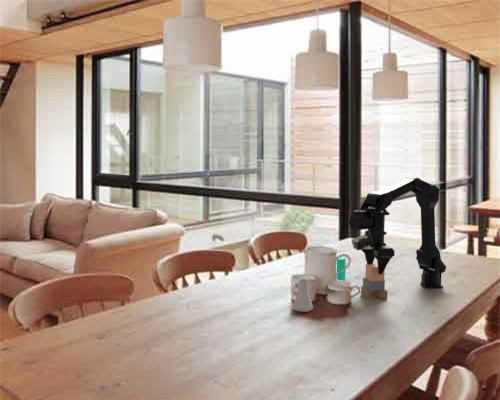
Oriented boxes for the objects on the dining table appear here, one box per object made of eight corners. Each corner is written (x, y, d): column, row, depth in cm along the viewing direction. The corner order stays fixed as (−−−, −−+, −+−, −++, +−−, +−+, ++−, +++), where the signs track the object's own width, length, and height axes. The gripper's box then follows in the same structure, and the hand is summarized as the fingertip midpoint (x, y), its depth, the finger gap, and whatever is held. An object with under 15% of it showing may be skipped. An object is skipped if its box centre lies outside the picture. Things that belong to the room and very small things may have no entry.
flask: (288, 310, 180) (288, 280, 179) (296, 304, 186) (297, 276, 185) (308, 313, 177) (309, 283, 176) (316, 307, 183) (317, 278, 182)
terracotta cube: (378, 277, 198) (378, 263, 197) (384, 280, 193) (384, 266, 192) (365, 277, 197) (365, 264, 196) (371, 281, 192) (371, 267, 191)
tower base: (379, 294, 200) (379, 285, 200) (387, 300, 193) (387, 290, 193) (360, 295, 199) (361, 286, 198) (368, 301, 192) (368, 291, 192)
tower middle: (375, 285, 199) (375, 276, 199) (384, 289, 194) (384, 280, 194) (362, 287, 197) (363, 277, 197) (371, 291, 192) (371, 281, 192)
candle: (346, 286, 210) (347, 255, 208) (330, 286, 210) (331, 255, 208) (343, 282, 216) (344, 252, 214) (328, 282, 216) (329, 252, 214)
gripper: (345, 224, 200) (344, 266, 202) (364, 233, 182) (363, 278, 184) (373, 223, 202) (372, 264, 204) (396, 232, 184) (394, 277, 186)
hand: (374, 271), depth 194 cm, fingers open, 9 cm apart
